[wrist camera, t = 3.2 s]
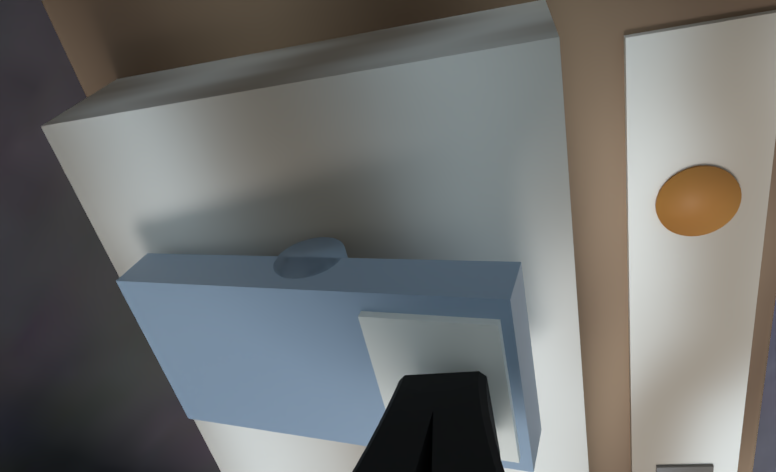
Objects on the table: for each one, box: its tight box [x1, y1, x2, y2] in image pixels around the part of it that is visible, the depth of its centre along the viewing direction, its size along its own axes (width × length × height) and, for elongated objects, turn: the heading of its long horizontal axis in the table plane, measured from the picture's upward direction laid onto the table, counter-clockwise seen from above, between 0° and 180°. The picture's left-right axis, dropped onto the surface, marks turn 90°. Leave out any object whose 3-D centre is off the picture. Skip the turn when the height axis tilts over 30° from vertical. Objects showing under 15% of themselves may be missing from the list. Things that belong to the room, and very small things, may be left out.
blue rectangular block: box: [116, 237, 542, 472], centre depth 12 cm, size 8×4×2 cm, turn 103°
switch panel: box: [41, 0, 776, 472], centre depth 17 cm, size 16×24×4 cm, turn 12°
